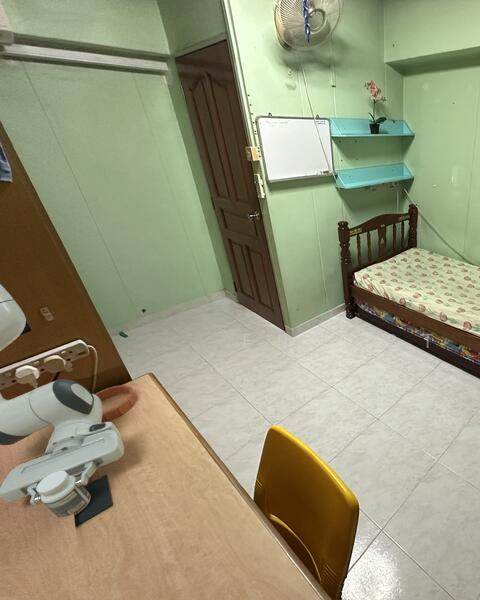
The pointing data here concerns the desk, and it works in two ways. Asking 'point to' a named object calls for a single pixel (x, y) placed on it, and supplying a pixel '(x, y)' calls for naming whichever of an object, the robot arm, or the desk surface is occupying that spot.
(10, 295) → the robot arm
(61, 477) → the pill bottle
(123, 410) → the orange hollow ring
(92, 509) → the mat
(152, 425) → the desk surface
